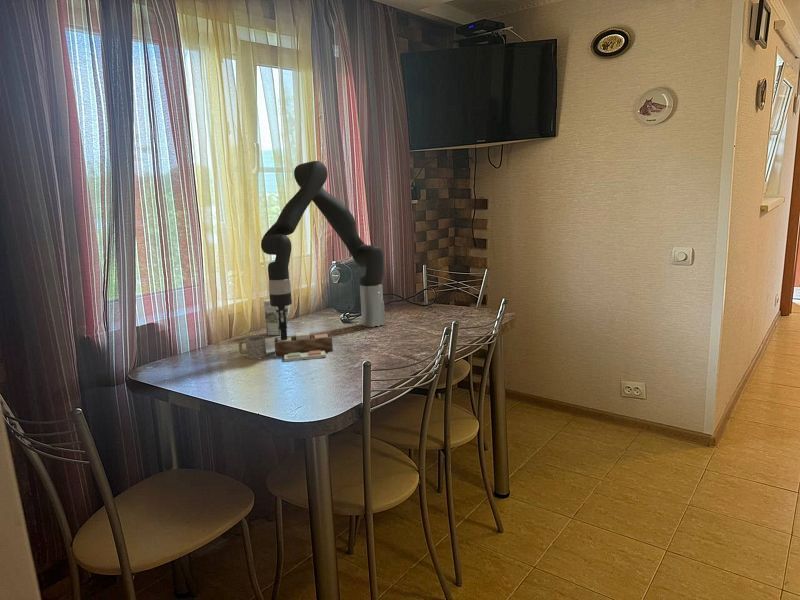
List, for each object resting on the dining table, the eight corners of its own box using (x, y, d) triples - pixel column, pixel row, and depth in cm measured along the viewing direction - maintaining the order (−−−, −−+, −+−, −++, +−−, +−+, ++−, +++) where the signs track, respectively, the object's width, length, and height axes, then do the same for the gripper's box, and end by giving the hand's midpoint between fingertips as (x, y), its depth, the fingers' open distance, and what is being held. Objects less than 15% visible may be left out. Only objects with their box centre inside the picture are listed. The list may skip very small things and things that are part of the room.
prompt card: (324, 353, 202) (324, 348, 202) (326, 357, 197) (325, 352, 197) (284, 357, 199) (284, 353, 199) (284, 361, 195) (284, 357, 194)
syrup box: (284, 332, 234) (281, 297, 232) (280, 335, 229) (277, 300, 226) (271, 332, 235) (268, 297, 232) (266, 336, 229) (263, 300, 226)
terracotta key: (327, 340, 210) (327, 333, 209) (328, 343, 205) (328, 336, 204) (314, 341, 209) (314, 334, 208) (315, 345, 204) (314, 338, 203)
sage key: (291, 343, 207) (291, 337, 206) (292, 347, 202) (291, 340, 202) (278, 345, 206) (277, 338, 206) (278, 348, 201) (277, 341, 201)
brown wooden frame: (330, 345, 212) (329, 332, 211) (332, 351, 204) (331, 337, 203) (275, 350, 208) (274, 337, 207) (275, 357, 200) (274, 343, 199)
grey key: (309, 338, 208) (309, 331, 207) (310, 341, 203) (309, 334, 203) (296, 339, 207) (295, 332, 206) (296, 342, 202) (296, 335, 202)
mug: (269, 354, 204) (268, 336, 203) (260, 359, 198) (258, 341, 197) (245, 353, 207) (243, 335, 206) (235, 358, 201) (233, 340, 199)
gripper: (291, 294, 195) (295, 343, 198) (290, 287, 207) (294, 333, 211) (268, 295, 193) (273, 345, 197) (269, 289, 206) (273, 335, 209)
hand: (284, 339), depth 204 cm, fingers closed
